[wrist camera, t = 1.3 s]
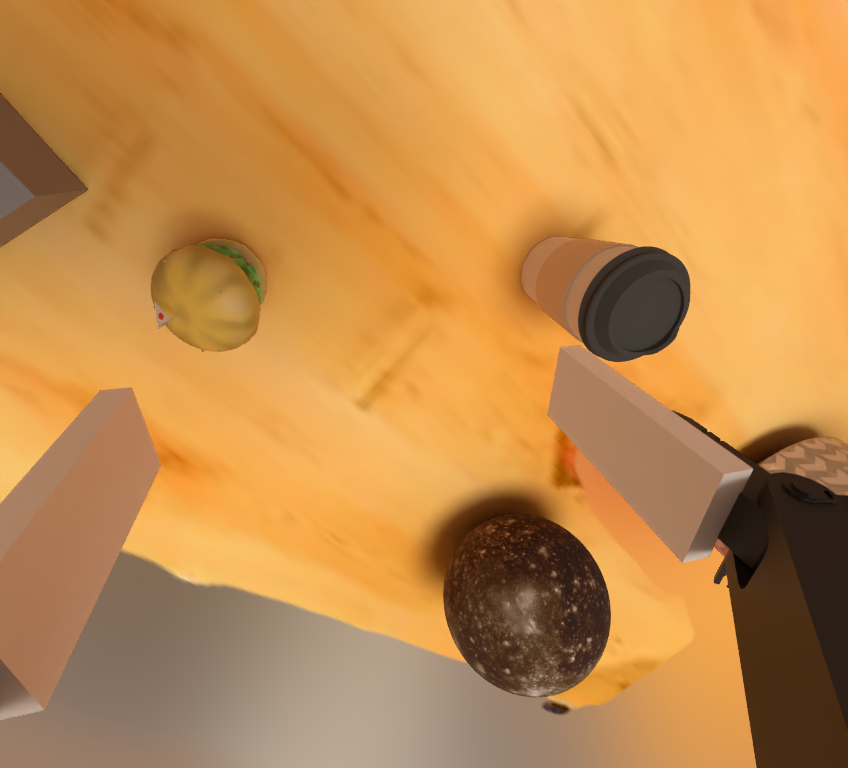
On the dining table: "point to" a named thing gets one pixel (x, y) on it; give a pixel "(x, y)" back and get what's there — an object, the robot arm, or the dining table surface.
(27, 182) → the mount block
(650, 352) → the coffee cup
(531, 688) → the decorative sphere
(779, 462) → the planter
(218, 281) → the hamburger
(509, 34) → the dining table surface
